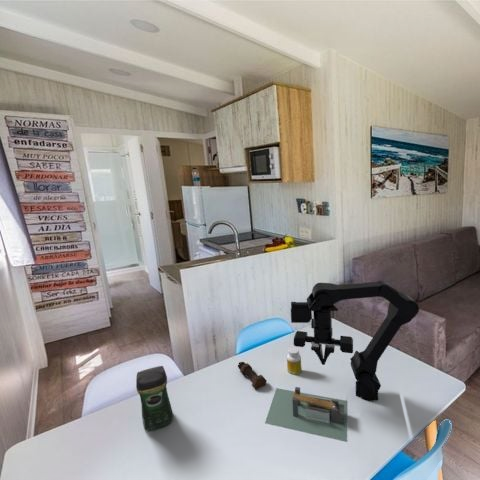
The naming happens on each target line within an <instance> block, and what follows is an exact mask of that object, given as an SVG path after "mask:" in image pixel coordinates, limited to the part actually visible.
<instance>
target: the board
mask: <svg viewBox="0 0 480 480" xmlns="http://www.w3.org/2000/svg"><path fill="white" fill-rule="evenodd" d="M293 393H295V390H290V389H283V388H280V387H279V388H278V387H276V389H275V392H274V395H273V397H272V401H271V404H270V406H269V410H268V413H267V416H266V418H265V421H264V424H266V425H271V426H277V427H279V428H280V427H281V428H284V429H288V430H293V431H298V432H303V433H307V434H311V435H316V436H319V437H325V438H329V439H334V440H336V441H337V440H338V441H342V442H347V441H348V401H347V400H344V399H341V398H340V399H338V398H334V397H329V396H322V395H315V394H311V393H306V392H301V391H300V394H301V395H305V396H308V395H309V396H315V397H320V398H326V399H330V402H332V400H337V401H339V404H342V405H344V425H343V424H339V423H335V422H331V410H330V423H329V425H327V424H322V423H317V422H313V421H308V420H306V405H307V403H304V402H301V405H300V406H298V417H295V416H293V402H292V397H293Z"/></svg>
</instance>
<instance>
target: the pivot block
mask: <svg viewBox="0 0 480 480" xmlns="http://www.w3.org/2000/svg"><path fill="white" fill-rule="evenodd" d="M332 402H333V403H334V402H336V403H337V409H334V408H331V422H335V423H339V424H343V425H344V405H342V404H339V401H337V400H332Z"/></svg>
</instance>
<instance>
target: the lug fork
mask: <svg viewBox="0 0 480 480" xmlns="http://www.w3.org/2000/svg"><path fill="white" fill-rule="evenodd" d="M294 391H295V393H297V394H300V392H301V387H298V386H295V389H294ZM292 402H293V416H295V417H298V406H300V405H301V401H298V398H295V397H293V399H292Z"/></svg>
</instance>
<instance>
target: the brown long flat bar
mask: <svg viewBox="0 0 480 480" xmlns="http://www.w3.org/2000/svg"><path fill="white" fill-rule="evenodd" d="M293 397H295V398H298V401H301V402H304V403H308V404H312V405H316V406H320V407H324V408H327V409H331V408H334V409H337V403H336V402H334V403H333V402H329V401H325V400H321V399H317V398H313V397H309V396H305V395H301V394H297V393H293ZM293 397H292V399H293Z"/></svg>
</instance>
